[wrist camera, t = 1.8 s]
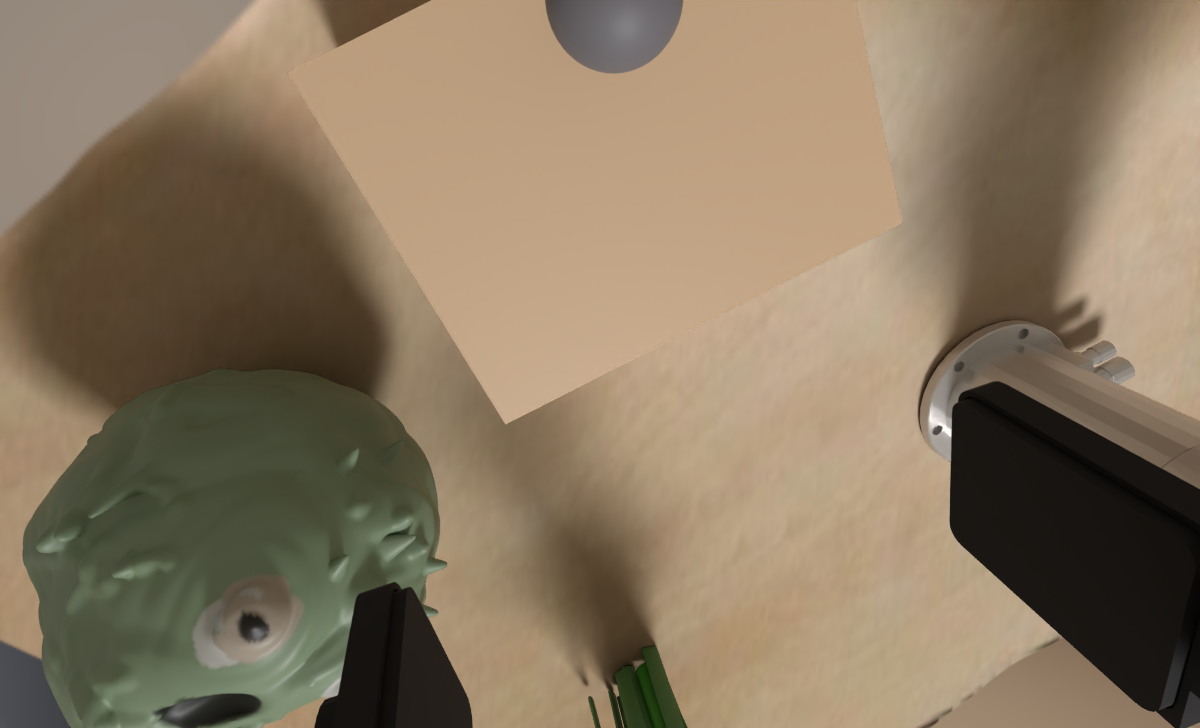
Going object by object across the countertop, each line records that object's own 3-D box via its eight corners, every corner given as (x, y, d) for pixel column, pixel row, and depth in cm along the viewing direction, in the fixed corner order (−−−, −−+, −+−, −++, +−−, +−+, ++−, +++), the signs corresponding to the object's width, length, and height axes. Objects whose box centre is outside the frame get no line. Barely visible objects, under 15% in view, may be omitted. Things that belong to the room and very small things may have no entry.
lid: (805, -187, 22) (965, -310, 15) (894, 220, 30) (1030, 262, 23) (291, 72, 22) (217, 67, 15) (504, 418, 29) (520, 521, 22)
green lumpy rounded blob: (69, 379, 36) (-304, 665, 18) (385, 272, 38) (323, 442, 20) (216, 573, 43) (48, 917, 25) (479, 477, 45) (496, 740, 27)
